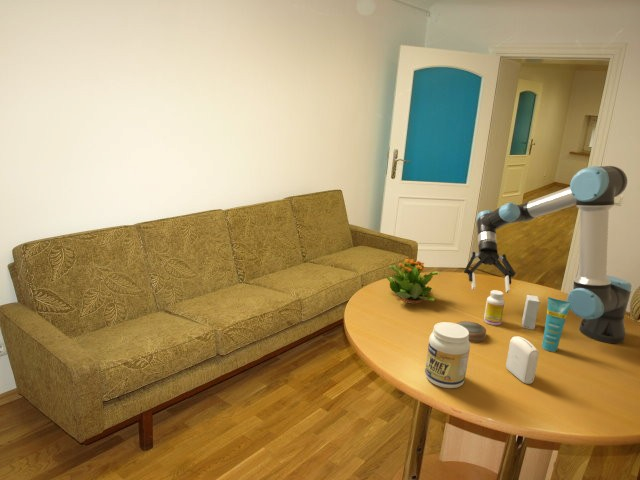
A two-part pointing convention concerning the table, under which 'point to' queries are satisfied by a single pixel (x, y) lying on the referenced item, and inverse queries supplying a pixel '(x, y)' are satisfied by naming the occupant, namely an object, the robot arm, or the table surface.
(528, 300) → the skincare box
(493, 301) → the supplement bottle
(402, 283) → the potted flower
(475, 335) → the walnut plinth
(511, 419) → the table surface
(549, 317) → the tube
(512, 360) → the photo printer
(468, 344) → the supplement tub
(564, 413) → the table surface
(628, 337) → the table surface
